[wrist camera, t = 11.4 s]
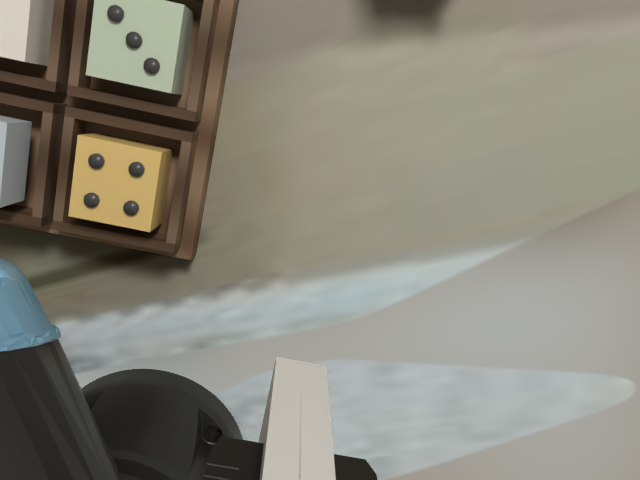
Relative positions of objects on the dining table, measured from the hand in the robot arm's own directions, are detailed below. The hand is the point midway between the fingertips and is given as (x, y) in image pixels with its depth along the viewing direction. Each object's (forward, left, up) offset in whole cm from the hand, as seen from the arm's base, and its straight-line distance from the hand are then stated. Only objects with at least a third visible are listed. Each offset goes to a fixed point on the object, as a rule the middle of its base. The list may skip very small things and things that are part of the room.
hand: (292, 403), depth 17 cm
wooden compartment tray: (+6, +16, -24) cm, 30 cm away
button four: (+2, +12, -22) cm, 25 cm away
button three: (+10, +12, -22) cm, 27 cm away
